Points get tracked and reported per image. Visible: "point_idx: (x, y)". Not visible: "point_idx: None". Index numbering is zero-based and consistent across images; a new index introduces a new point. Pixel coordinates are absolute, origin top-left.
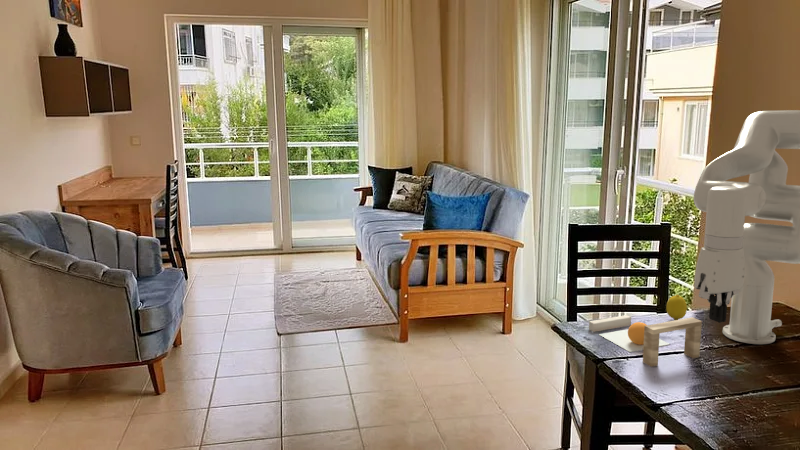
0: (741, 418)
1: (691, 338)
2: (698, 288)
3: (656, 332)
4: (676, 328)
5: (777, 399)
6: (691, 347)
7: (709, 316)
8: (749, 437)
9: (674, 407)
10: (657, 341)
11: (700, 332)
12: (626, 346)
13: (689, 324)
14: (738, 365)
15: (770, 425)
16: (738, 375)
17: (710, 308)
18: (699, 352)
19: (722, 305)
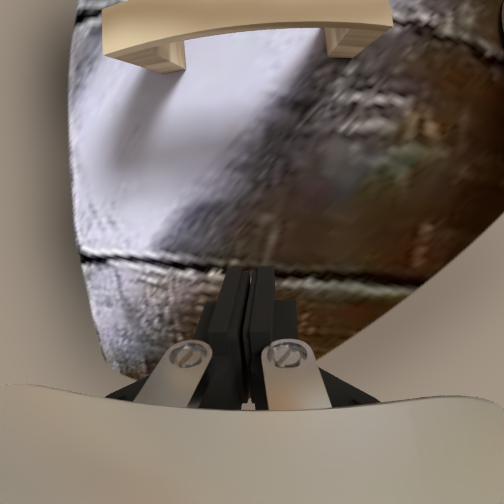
0: None
1: (337, 30)
2: (35, 385)
3: (126, 51)
4: (236, 29)
5: (338, 318)
6: (331, 41)
7: (227, 273)
8: None
9: (104, 276)
10: (150, 56)
11: (374, 38)
12: None
13: (317, 23)
14: (413, 147)
15: None
16: (364, 196)
17: (195, 332)
18: (355, 54)
19: (251, 397)
